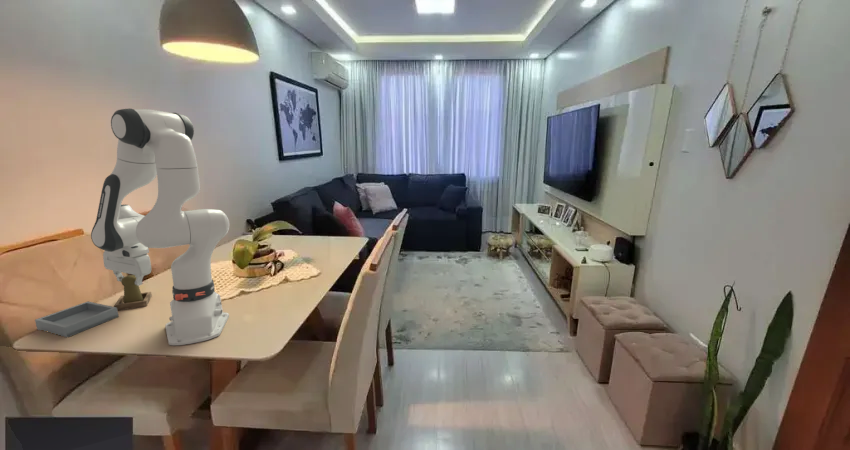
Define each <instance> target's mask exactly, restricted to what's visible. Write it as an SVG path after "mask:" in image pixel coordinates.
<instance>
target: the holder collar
mask: <svg viewBox="0 0 850 450" xmlns="http://www.w3.org/2000/svg"><path fill="white" fill-rule="evenodd" d="M141 294H142V297H143V301H137V302H130V303H124V295H119V296H120V297H119V298H118V299H117V300H116V302H115V304H114V305H113V307H116V308H117V311H123V310H124V311H125V310H129V309H131V310H132V309H135V308H136V309H137V308H142V307H148V305H149V302H150V301H151V299H152V296H153V295H152V291H147V292H141Z"/></svg>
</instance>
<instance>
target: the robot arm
mask: <svg viewBox="0 0 850 450" xmlns="http://www.w3.org/2000/svg"><path fill="white" fill-rule="evenodd" d="M110 127H111V131H112V133H113V135H114V136H115V138H116V139H118V141H117V147H116V163H115V165H114V168H113V170H112V171H111V173H110V175H108V176H107V177H105V178H104V182H103V184H102V188H101V194H100V199H99V203H98V207H97V215H96V218H95V221H94V224H93V227H92V230H91V233H90V238H91V242H92V243H93V245H94V246H95V247H96V248H98V249H100V250H102V251H104V252H103V254H102V256H103V257H102V258H103V259H102V260H103V266H104V267H105V269H106V270H109V271H112V272H113V274H114V276H115V277H116V281H117V282H121V280H122V278H123V277H125V275H123V274H129V275H135V277H137V278H136V281H134V282H135V285H138V286H139V287H140V286H141V285H143V279H144V276H147V275H149V274H151V272H152V265H151V264H152V263H151V258H150V256H149V253H150V249H166V248H174V247H179V246H180V247H181V246H187V245H188V248H187V250H186V251H185V252H183V253H182V254H181V255H179V256H177V257H176V258H175V259H174V260H173V261H172V263H171V266H170V271H171V276H172V287H171V288H172V290H171V291H172V296H173V297H172V300H171V301H170V302H169V304H170V311H171V313H170V314H171V316H169V318H168V319H169V321H168V322H166V323H165V331H166V337H167V342H168V345H169V346H184V345H191V344H195V343H201V342H204V341H208V340H211V339H214V338H216V337H218V336H221V333H222V331H223V330H224V328H225V325H226V323H227V321H228V320H229V318H230V314H229V313H228V312H224V310H223V305H222V304H223V303H222V298H221V295H220V294H219V293H217V292H216V290H215V283H214V280H213V278H212V255H213V253H214V250H215V248H216V246H217V245H218V244H219V242H220V241H221V240H222V239H223V238H224V237H225V236H227V235H228V232H229V230H230V223H231V222H230V219H229V218H228V215H227V214H226V213H225V212H224V211H223V210H221V209H214V208H201V209H193V210H182V208H183V206H184V204H185V203H187V202H188V201H190V200H192V199H194V198H195V197H196V196H198V195H199V194H200V191H201V180H200V173H199V172H200V171H199V165H198V160H197V155H196V151H195V147H194V146H193V145H194V144H193V142H192V140H193V138H194V134H195V127H194V125H193V122H192V121H191V120H190V119H189V117H188V116H187V115H183V114H181V113H177V112H169V111H162V110H157V109H151V108H150V109H149V108H147V109H146V108H135V109H133V108H121V109H117V110H116V111H114V113H113V114H112V116H111V120H110ZM156 177H157V191H158V192H157V198H156V201H155V203H154V205H153V207H151V210H149V212H148V213H146V214H145V215H144V214H141V213H139V212H137V211H135V210H134V209H133V208H132V206H131V205H129V204H122V202H123V200H124V199H125V198H126V197H127V196H128V195H129V194H132V192H134V191H136V190H138V189H140V188H143V187H145V186H147V185H148V184H150V183H152V182H153V181H154V180H155V179H156Z"/></svg>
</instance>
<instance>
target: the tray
mask: <svg viewBox="0 0 850 450" xmlns="http://www.w3.org/2000/svg"><path fill="white" fill-rule="evenodd" d="M118 311H119V310H117V308H116V307H114V306H111V305H107V304H102V303H96V302H93V301H90V300H89V301H86V302H83V303H80V304H76V305H74V306H70V307H68V308H65V309H62V310H59V311H56V312H54V313H51V314H48V315H45V316H42V317H38V318H35V320H34V321H35V322H34V323H35V325H36V330H38V331H41V330H44V331H43V332H45V331H48V332H51V333H50V334H52V333H55V334H54V335H56V334H58V335H57V336H59V335H61V337H63V336H64V338H67V337H68V338H70V337H72V335H73V336H74V335H77V334H80V333H83V332H85V331H86V330H89V329H92V328H95V327H97V326H99V325H102V324H104V323H106V322H109V321H112V320H114V319H116V318H117V319H118V318H119V317H120V316H119V313H118ZM48 332H47V333H48Z"/></svg>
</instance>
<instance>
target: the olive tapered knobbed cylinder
mask: <svg viewBox="0 0 850 450" xmlns="http://www.w3.org/2000/svg"><path fill="white" fill-rule="evenodd" d="M136 278H137V277H135V275H133V274H129V275H127V276H125V275H124V277H123V278H122V280H121V285H122V286H123V296H124V302H123V303H130V302H137V301H143V300H144V298H143V297H142V294H141V293H142V292H141V289H140V285H139V286H138V285H135V282H134V281H136Z"/></svg>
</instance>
